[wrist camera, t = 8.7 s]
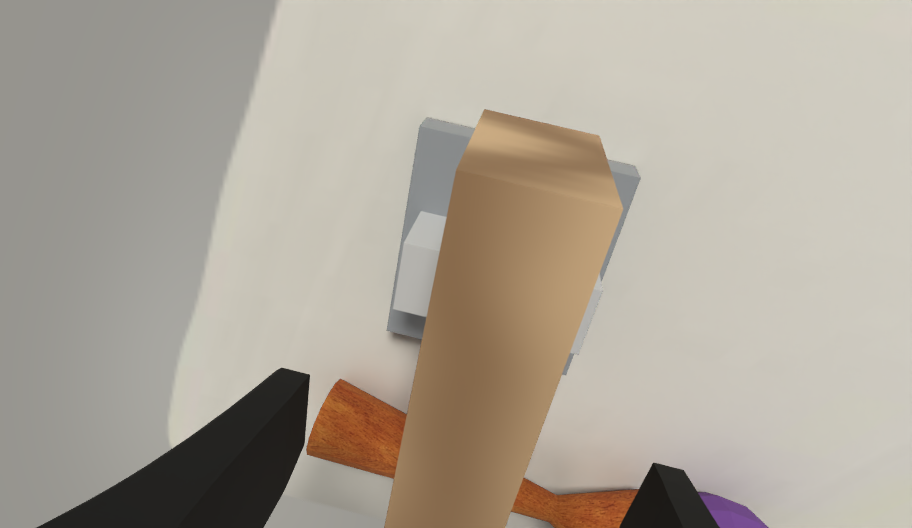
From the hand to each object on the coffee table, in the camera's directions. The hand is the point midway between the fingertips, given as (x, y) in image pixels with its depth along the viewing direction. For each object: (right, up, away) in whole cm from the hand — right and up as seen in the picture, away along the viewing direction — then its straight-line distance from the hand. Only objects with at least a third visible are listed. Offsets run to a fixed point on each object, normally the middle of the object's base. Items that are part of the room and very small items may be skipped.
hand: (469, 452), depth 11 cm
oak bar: (+1, +3, +5) cm, 6 cm away
